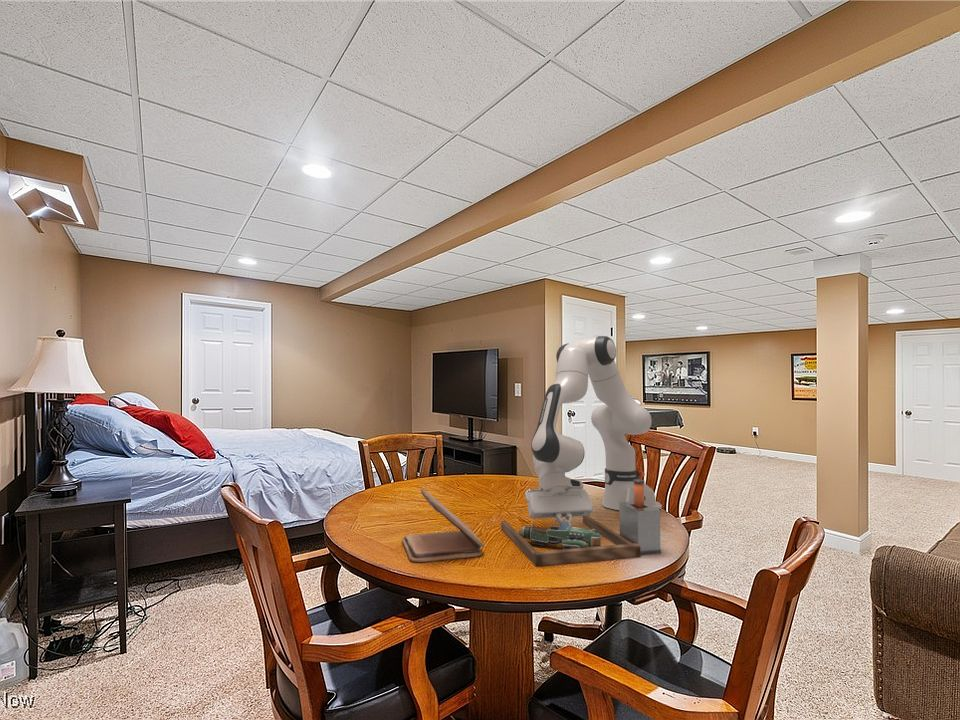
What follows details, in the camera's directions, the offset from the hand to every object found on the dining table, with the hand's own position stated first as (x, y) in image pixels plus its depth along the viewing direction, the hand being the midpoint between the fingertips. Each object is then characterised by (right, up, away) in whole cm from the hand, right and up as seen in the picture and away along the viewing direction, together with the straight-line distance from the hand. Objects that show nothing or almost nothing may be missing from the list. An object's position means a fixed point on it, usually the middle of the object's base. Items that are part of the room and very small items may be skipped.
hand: (566, 529), depth 143 cm
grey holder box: (+21, -4, -3) cm, 21 cm away
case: (-37, -5, -3) cm, 37 cm away
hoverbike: (-3, -5, -3) cm, 6 cm away
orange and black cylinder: (+21, +7, -2) cm, 22 cm away
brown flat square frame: (0, -5, +3) cm, 5 cm away
